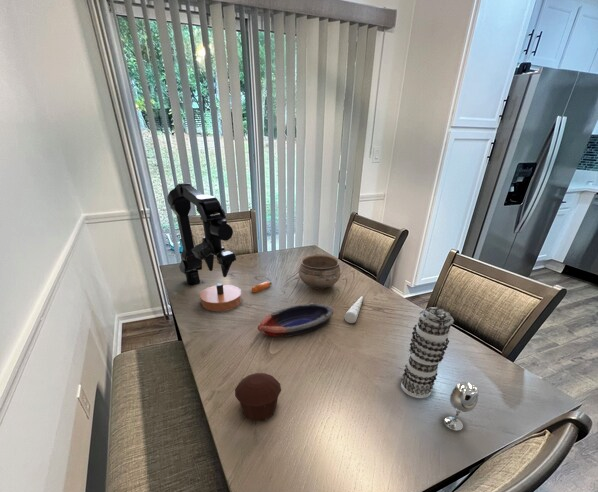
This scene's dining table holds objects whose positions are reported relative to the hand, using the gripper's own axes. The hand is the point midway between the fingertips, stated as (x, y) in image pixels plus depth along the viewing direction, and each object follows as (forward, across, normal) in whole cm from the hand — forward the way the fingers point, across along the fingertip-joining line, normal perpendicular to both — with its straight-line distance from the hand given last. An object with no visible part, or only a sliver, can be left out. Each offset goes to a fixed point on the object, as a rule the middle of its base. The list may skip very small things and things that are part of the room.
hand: (217, 273), depth 127 cm
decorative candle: (+13, +83, +7) cm, 84 cm away
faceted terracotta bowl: (+13, 0, 0) cm, 13 cm away
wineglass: (+13, +96, +1) cm, 97 cm away
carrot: (+13, +2, +20) cm, 24 cm away
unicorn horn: (+13, +44, +33) cm, 57 cm away
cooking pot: (+13, +19, +41) cm, 47 cm away
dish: (+13, +35, +8) cm, 38 cm away
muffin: (+13, +56, -29) cm, 64 cm away
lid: (+9, 0, 0) cm, 9 cm away
